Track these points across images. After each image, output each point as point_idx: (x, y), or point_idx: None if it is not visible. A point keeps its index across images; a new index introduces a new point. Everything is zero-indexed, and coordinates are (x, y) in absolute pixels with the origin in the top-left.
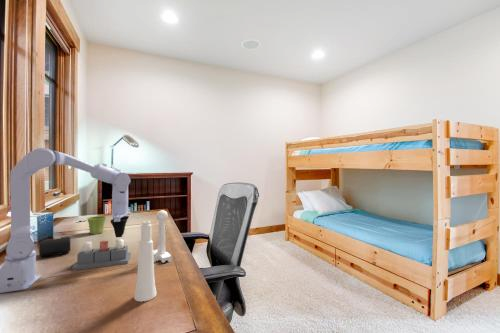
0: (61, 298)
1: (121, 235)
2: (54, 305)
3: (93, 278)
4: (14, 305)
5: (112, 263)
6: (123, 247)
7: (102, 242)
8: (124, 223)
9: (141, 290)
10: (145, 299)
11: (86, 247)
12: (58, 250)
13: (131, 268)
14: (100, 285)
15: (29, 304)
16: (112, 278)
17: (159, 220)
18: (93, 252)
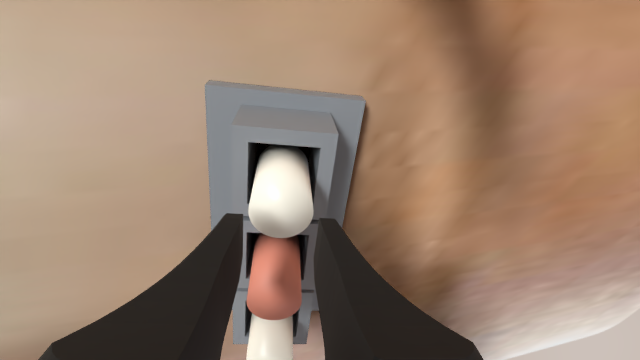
0: (553, 275)
1: (339, 230)
2: (584, 280)
3: (459, 222)
4: (508, 348)
5: (349, 174)
6: (285, 153)
7: (299, 305)
8: (444, 331)
9: None
10: None
11: (292, 345)
12: None
13: (448, 73)
14: (547, 191)
15: (528, 326)
16: (513, 156)
17: None
18: (308, 294)
